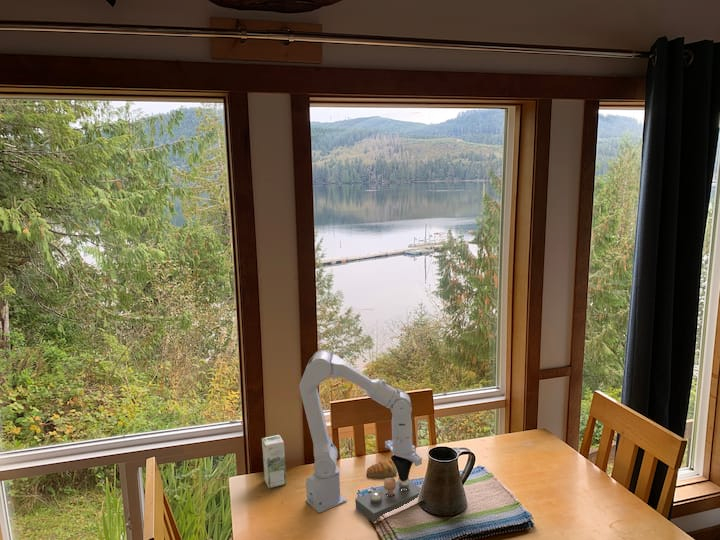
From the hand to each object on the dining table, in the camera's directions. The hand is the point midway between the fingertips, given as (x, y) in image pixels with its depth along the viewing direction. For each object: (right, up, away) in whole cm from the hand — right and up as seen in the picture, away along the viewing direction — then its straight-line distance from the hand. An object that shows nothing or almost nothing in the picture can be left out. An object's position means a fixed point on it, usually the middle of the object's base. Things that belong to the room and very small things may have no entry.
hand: (403, 479), depth 154 cm
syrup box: (-39, -6, +13) cm, 42 cm away
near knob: (-8, -6, -5) cm, 11 cm away
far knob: (0, -5, +1) cm, 5 cm away
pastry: (-5, -5, +16) cm, 17 cm away
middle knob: (-4, -4, -2) cm, 6 cm away
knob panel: (-4, -6, -2) cm, 8 cm away
